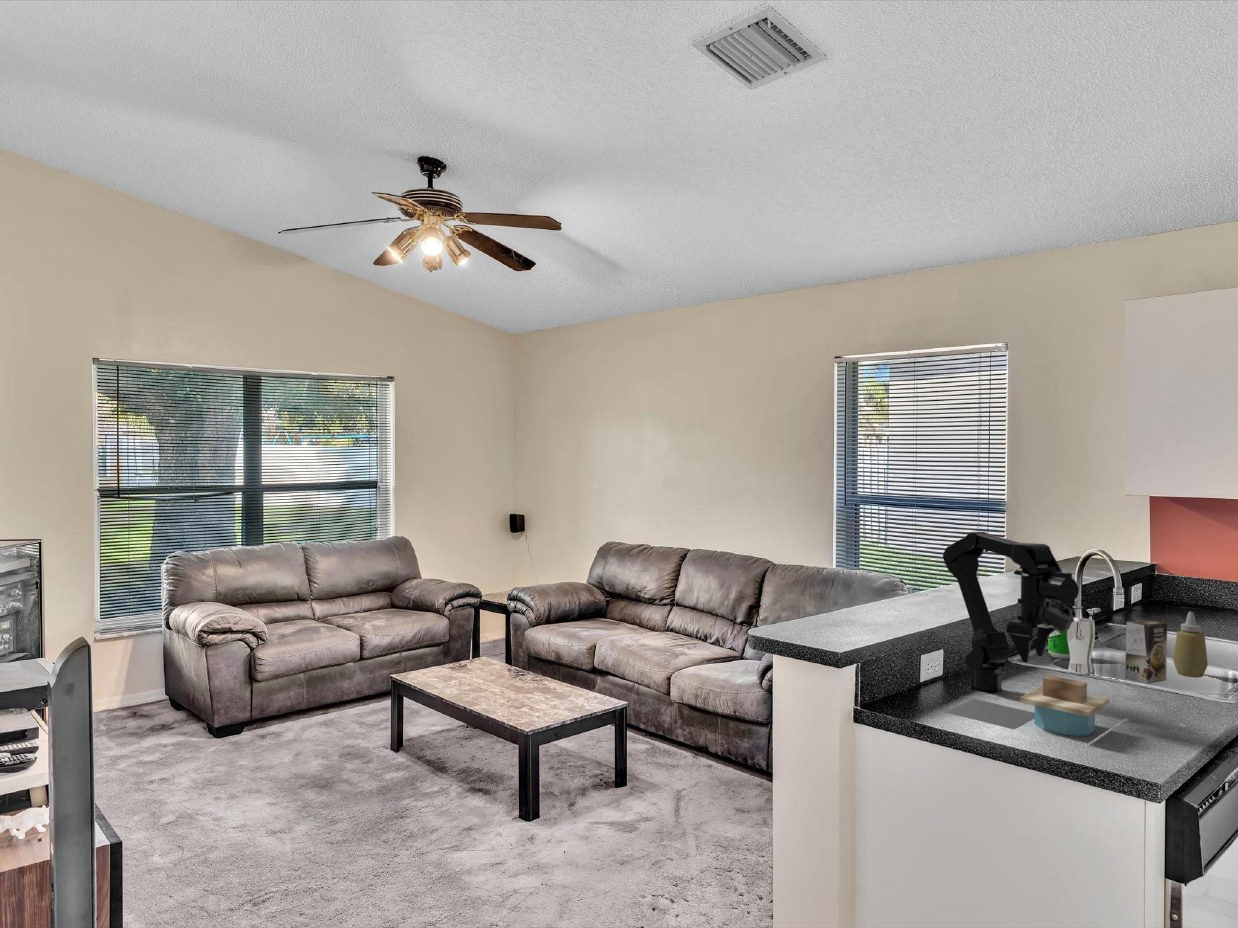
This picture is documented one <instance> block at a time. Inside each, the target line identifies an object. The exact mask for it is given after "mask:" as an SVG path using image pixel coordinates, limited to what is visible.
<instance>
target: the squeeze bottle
mask: <svg viewBox="0 0 1238 928" xmlns="http://www.w3.org/2000/svg"><path fill="white" fill-rule="evenodd" d="M1172 661H1173V664H1174V667H1175V669H1176V672H1177V674H1178V675H1179V676H1183V677H1187V678H1195V679H1197V678H1203V677H1204V674H1205V672H1206V671H1207V668H1208V665H1209V663H1208V654H1207V645H1206V636H1205V634H1203V633H1202V625H1199V624H1197V620H1196V618H1195V612H1193V611H1188V613H1187V615H1186V620H1185V622H1184V623H1180V630H1179V631H1177V632H1176V637H1175V645H1174V651H1173V658H1172Z"/></svg>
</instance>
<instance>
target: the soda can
mask: <svg viewBox="0 0 1238 928" xmlns="http://www.w3.org/2000/svg"><path fill="white" fill-rule="evenodd" d="M1052 627H1053V626H1052ZM1054 628H1056V627H1054ZM1047 643H1048V645H1047V648H1048V651H1047V653H1048V654H1049V655H1050V656H1051V657H1052V658H1056V659H1060V660H1070V653H1069V647H1068V641H1067V630H1065V631H1061V630H1058V629H1057V630H1056V631H1054V632H1053V633H1051V634H1050V635H1049V638H1048V641H1047Z"/></svg>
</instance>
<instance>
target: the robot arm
mask: <svg viewBox="0 0 1238 928" xmlns="http://www.w3.org/2000/svg"><path fill="white" fill-rule="evenodd" d="M985 551H987V552H991V553H994V554H998V555H1001V556H1003V557H1007V558H1009V559H1010V560H1012V562H1013V563H1014V564H1016V565H1018V566H1019V567H1018V568H1017V569H1015V570H1014V572H1013V573H1014V575H1017V576H1020V598H1017V604H1020V614H1019V615H1017V618H1016V619H1012V620H1010V621H1008V622H1007V623H1005V632H1004V631H998V630H997V629H996V628H995V626H994V624H993V621H992V618H991V615H990V611H989V609H988V606H987V602H986V600H985V596H984V594H983V590H982V589H981V585H980V582H979V578H978V576H977V574H978V571H979V566H980V564H979V563H980V561H979V559H980V557H981V556H983V554H984V553H985ZM942 560H943V562H944V564H945V566H946V568H947V570H948V572H950V574H951V575H952V577H954V578H956V581H957V583H958V586H959V589H960V591H961V594H962V597H963V602H964V604H965V608H966V611H967V613H968V617H969V620H970V623H971V626H972V629H973V634H972V639H971V648H972V650H971V651H970V652H969V653H968V654H967V655H966V656H965V657H964V661H965V666H966V667H969V668H970V685H969V686H968V687H967V689H968V690H971V691H976V692H981V693H986V694H989V695H994V694H996V693H998V692H1001V691H1003V688H1002V678H1003V677H1002V674H1001V672H1000V671H1001V668H1005V667H1006V664H1007V662H1008V661H1007V660H1008V659H1009V656H1010V654H1011V653H1010V649H1009V648H1011V646H1010V644H1009V642H1008V639H1007V635H1006V634H1005V633H1007V634H1008V636H1009V637H1010V638H1011V640H1012V642H1013V644H1014V647H1016V651H1017V652H1018V654H1019V657H1020V659H1021V661H1022V662H1023V663H1028V662H1029V658H1030V653H1031V647H1032V643H1033V645H1034V649H1035V652H1036V655H1037V656H1038V657H1043V656H1044V652H1045V649H1046V647H1047V643H1048V639H1049V635H1050V634H1051V633H1053V632H1054V631H1056V630H1057V629H1058V630H1061V631H1065V630H1067V629H1069V628H1070V625H1071V623H1072V622H1074V617H1075V616H1074V615H1073V609H1072V608H1069V607H1067V606H1066V607H1063V608H1061V609H1060V608H1055V607H1052V601H1051V600H1055V601H1059V602H1063V603H1072V602H1075V600H1077V598H1078V595H1079V592H1080V588H1079V586H1078V583H1077V581H1076V580H1075V579H1074V578H1073V573H1071V572H1063V570H1062V568H1061V567H1060V565H1059V563H1058V561H1057V560H1056V558H1055V556H1054V554H1053V552H1052V550H1051V547H1050V546H1049V545H1047V544H1045V543H1034V542H1033V543H1032V542H1030V543H1029V542H1018V541H1014V540H1011V539H1008V538H1005V537H1000V536H996V535H994V534H990V533H988V532H985V531H971V532H969V533H968V534H967V535H965V536H964V537H963V538H961V539H959V540H957V541H955V542H953V543H952V544H950V545H949V546H947V547H945V549H944V551H943V553H942ZM1052 626H1053V627H1052ZM1054 627H1056V628H1054Z"/></svg>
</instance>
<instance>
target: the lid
mask: <svg viewBox="0 0 1238 928" xmlns="http://www.w3.org/2000/svg"><path fill="white" fill-rule="evenodd" d="M1019 702H1021V703H1025V704H1030V705H1034V706H1035V705H1037V706H1042V707H1046V708H1051V709H1055V710H1060V711H1064V712H1069V713H1073V714H1078V715H1082V716H1087V717H1088V716H1090V715H1092V714H1093V713H1095V714H1096V712H1098V711H1100V710H1102V709H1104V707H1106V706H1108V705H1109V704H1110V698H1106V697H1100V696H1096V695H1091V694H1088V682H1084V681H1079V680H1073V679H1069V678H1064V677H1058V676H1053V675H1047V676H1045V677H1043V678H1042V686H1039V687H1038V688H1036V689H1034V690H1032V691H1030V692H1027V693H1025V694H1024V695H1021V696H1020V697H1019Z"/></svg>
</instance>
